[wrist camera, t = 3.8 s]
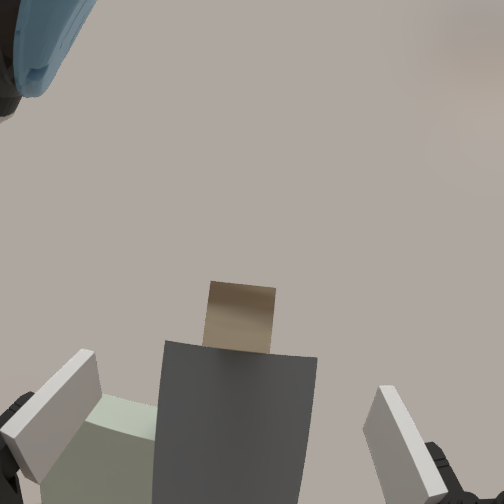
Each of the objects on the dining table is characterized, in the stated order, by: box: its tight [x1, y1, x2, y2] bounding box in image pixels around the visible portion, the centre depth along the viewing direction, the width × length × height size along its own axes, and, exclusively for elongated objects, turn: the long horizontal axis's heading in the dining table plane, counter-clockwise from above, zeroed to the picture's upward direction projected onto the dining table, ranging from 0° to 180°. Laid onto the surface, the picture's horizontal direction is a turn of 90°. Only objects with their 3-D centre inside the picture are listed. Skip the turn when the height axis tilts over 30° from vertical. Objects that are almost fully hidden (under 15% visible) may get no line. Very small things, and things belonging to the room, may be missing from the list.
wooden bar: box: [202, 281, 276, 353], centre depth 30 cm, size 24×4×4 cm, turn 0°
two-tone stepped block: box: [40, 341, 317, 504], centre depth 31 cm, size 16×28×30 cm, turn 90°
